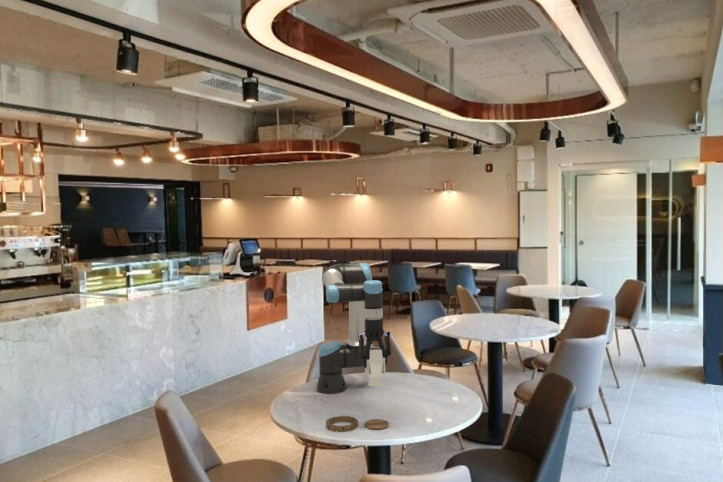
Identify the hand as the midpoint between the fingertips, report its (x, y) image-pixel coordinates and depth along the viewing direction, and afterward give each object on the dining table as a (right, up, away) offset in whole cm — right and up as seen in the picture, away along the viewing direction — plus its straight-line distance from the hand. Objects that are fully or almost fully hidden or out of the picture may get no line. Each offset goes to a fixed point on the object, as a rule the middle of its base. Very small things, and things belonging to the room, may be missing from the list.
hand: (375, 373), depth 237 cm
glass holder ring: (-14, -22, +1) cm, 26 cm away
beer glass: (0, -5, 0) cm, 5 cm away
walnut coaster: (+1, -22, +1) cm, 22 cm away
